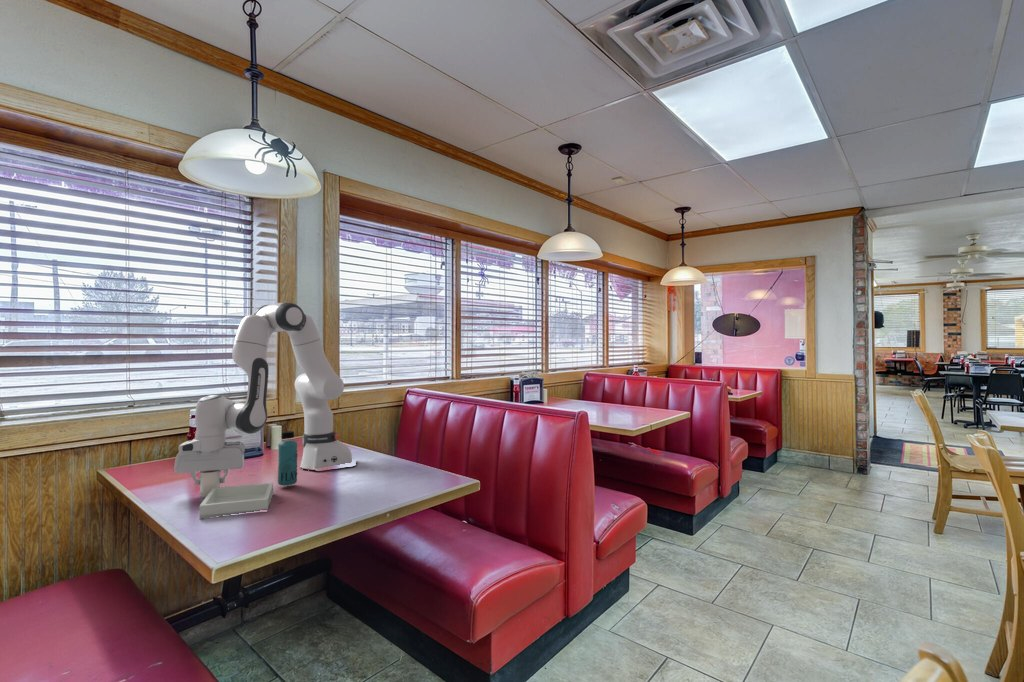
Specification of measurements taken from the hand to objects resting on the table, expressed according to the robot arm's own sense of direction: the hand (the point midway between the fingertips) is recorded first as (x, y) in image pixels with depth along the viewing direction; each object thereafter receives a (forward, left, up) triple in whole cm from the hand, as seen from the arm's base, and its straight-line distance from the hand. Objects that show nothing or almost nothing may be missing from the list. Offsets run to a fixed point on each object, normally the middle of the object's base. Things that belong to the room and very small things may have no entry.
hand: (210, 483), depth 166 cm
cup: (0, 0, -4) cm, 4 cm away
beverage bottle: (-24, 0, -4) cm, 24 cm away
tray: (-11, +16, -4) cm, 20 cm away
